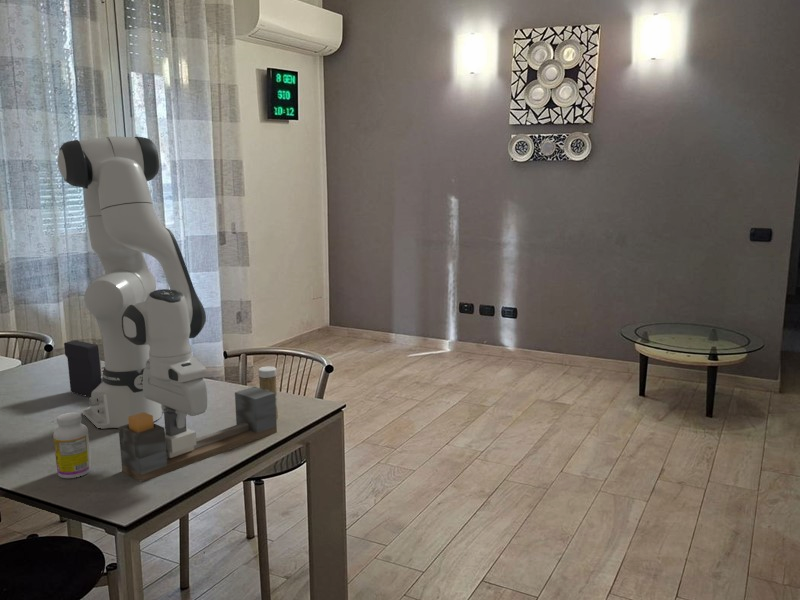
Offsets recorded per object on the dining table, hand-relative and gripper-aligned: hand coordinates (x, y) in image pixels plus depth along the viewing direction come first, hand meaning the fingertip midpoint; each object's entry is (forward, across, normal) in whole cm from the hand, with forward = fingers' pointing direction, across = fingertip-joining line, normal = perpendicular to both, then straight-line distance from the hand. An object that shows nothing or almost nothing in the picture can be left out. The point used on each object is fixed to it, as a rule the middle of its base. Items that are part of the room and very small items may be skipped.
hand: (175, 425), depth 156 cm
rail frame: (+8, 0, +7) cm, 11 cm away
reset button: (+1, 0, -8) cm, 8 cm away
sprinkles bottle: (+8, -5, +30) cm, 32 cm away
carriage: (+6, 0, 0) cm, 6 cm away
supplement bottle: (+8, -11, -18) cm, 23 cm away
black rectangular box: (+8, -61, +9) cm, 62 cm away
